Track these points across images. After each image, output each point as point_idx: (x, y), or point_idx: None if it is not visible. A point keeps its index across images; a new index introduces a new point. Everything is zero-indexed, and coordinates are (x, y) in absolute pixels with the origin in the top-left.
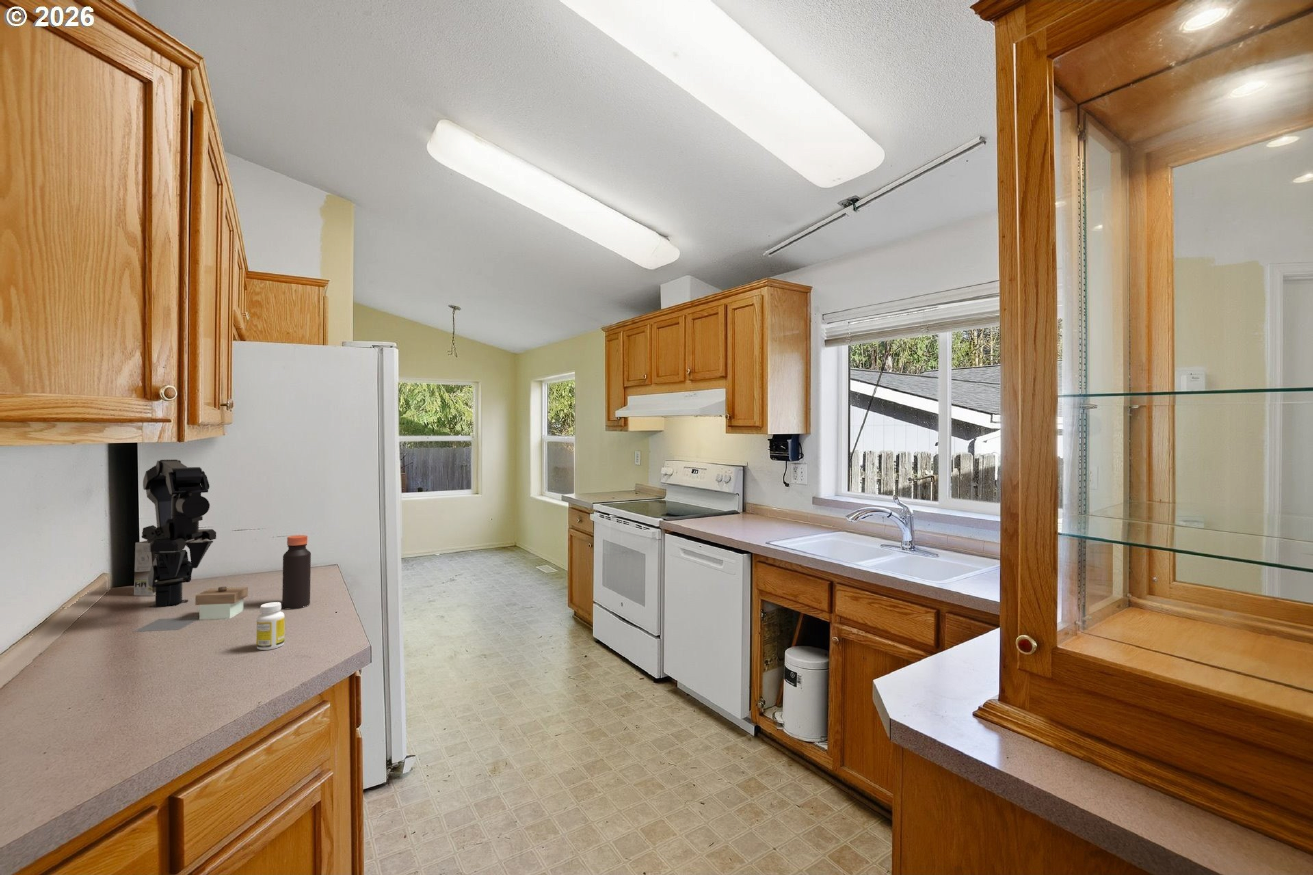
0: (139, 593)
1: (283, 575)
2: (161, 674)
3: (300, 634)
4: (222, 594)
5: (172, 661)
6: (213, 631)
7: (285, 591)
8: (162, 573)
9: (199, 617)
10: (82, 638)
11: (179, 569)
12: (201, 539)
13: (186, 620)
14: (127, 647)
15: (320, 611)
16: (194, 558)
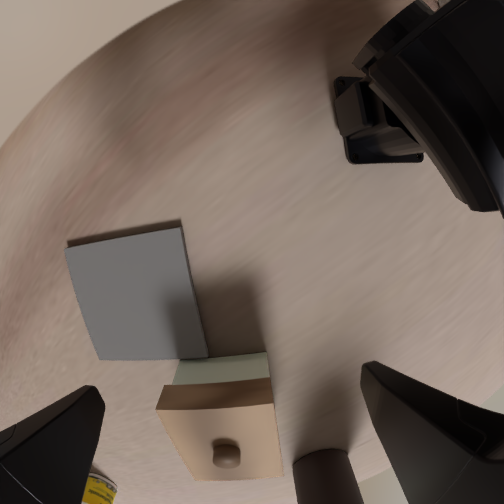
0: (442, 5)
1: None
2: (3, 406)
3: (151, 498)
4: (185, 463)
5: (21, 405)
6: (125, 416)
7: (301, 494)
8: (385, 91)
9: (177, 368)
10: (43, 139)
11: (456, 170)
12: None
13: (169, 332)
14: (18, 307)
15: (271, 496)
16: (398, 429)
